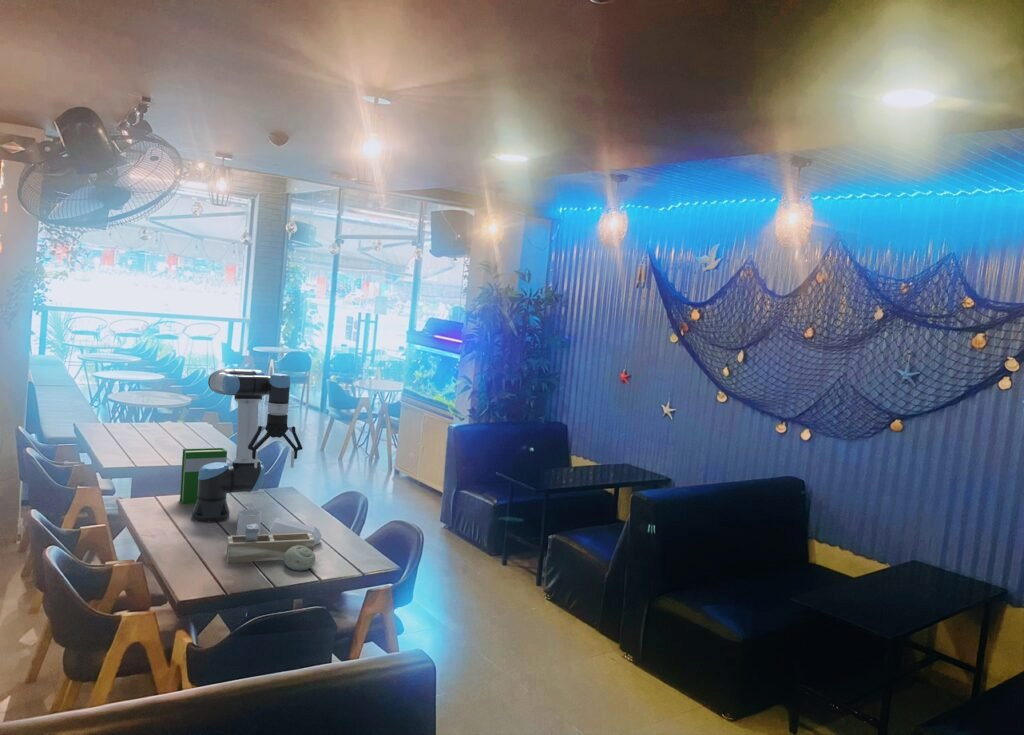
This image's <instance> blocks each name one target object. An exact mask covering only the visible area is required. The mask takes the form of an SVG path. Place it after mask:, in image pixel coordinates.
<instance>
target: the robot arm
mask: <svg viewBox="0 0 1024 735" xmlns="http://www.w3.org/2000/svg"><path fill="white" fill-rule="evenodd" d="M207 383H208V384H207V385H208V386H209V387H208V388H209V389H210V390H211V391H212V392H214V393H216V394H219V395H223V396H234V397H233V398H234V399H233V400H234V401H235V402H236V403H237V421H236V422H237V426H236V428H237V429H236V454H235V455H236V458H235V459H233V461H232V465H229V463H227V462H226V463H225V462H221V463H220V462H215V463H210V464H206V465H204V466H202V467H201V468H200V470H199V476H198V496H197V502H196V504H194V507H193V509H192V512H191V519H192V520H193V521H195V522H200V523H218V522H223V521H226V520H228V519H229V518H230V516H231V515H230V514H231V512H230V508H229V503H228V501H227V494H230V493H231V494H235V493H251V492H257V491H260V490H261V488H262V487H263V484H264V481H265V477H266V476H265V472H266V470H265V465H264V464H261V460H260V459H259V458H258V457H259V451H258V449H259V448H260V447H261V446H262V445H263V444H264V443H265V442H266V441H267V440H268V439H269V438H272V439H274V438H280V439H281V438H282V437H283V438H284V440H285V441H286V442H287V443H288V444H289V446H290V447H291V448H292V449H291V454H290V455H291V456H290V457H291V458H290V468H291V469H294V467H295V466H294V464H295V460H297V458H298V452H299V451H302V450H303V446H302V444H301V441H300V439H299V437H298V435H297V432H296V426H295V425H290V426H288V420H289V419H288V413H289V403H290V402H289V400H290V389H291V388H290V387H291V376H290V375H289V374H286V373H279V372H275V373H271V374H266V375H265V373H264V372H263V371H262V370H260V369H254V368H250V369H247V368H222V369H217V370H216V371H214V372H212V373H211V374H210V376H209V377H208V381H207ZM266 395H267V396H268V401H267V416H266V417H267V418H266V425H261V424H259V405H260V402H262V400H263V397H264V396H266ZM264 430H265V431H266V433H265V434H264V436H262V438H261V439H259V437H260V435H261V433H262V432H264ZM288 430H289V432H290V433H292V436H293V438H294V441H295V443H296V445H297V446H296V445H295V444H294V442H292V440H291V439H290V438H289V436H288V435H287V434H286V433H287V432H288ZM258 439H259V440H258Z"/></svg>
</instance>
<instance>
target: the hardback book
mask: <svg viewBox="0 0 1024 735" xmlns="http://www.w3.org/2000/svg"><path fill="white" fill-rule="evenodd" d="M227 457H228V450H227V449H226V448H225V447H206V448H205V447H203V448H202V447H201V448H197V447H196V448H182V458H181V459H182V460H181V473H180V474H181V477H180V478H181V479H180V493H179V495H180V496H179V500H180V501H182V505H195V504H196V502H197V496H198V476H199V470H200V468H201V467H202V466H204V465H206V464H210V463H215V462H220V463H221V462H225V463H227Z"/></svg>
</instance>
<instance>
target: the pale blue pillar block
mask: <svg viewBox="0 0 1024 735" xmlns="http://www.w3.org/2000/svg"><path fill="white" fill-rule="evenodd" d="M258 530H259V528H258V525H257V524H246V532H245V542H257V537H258Z"/></svg>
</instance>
